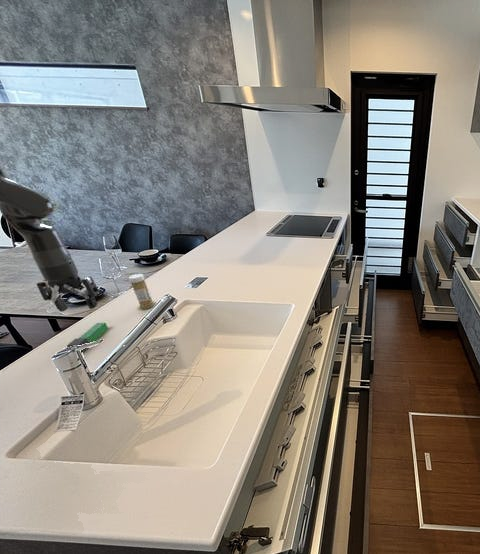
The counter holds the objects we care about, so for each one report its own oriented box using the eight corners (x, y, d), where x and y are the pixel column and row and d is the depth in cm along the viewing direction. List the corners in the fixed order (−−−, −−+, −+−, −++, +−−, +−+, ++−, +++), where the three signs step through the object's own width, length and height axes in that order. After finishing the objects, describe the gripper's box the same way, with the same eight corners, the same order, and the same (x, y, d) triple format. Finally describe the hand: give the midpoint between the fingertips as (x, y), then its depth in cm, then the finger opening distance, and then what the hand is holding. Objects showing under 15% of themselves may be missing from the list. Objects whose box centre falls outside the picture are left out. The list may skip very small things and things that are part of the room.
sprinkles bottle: (156, 303, 124) (145, 273, 118) (150, 308, 119) (138, 278, 114) (144, 303, 123) (133, 273, 118) (137, 309, 119) (125, 278, 114)
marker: (99, 329, 107) (95, 322, 106) (109, 328, 107) (105, 321, 106) (71, 353, 95) (66, 345, 94) (82, 352, 95) (78, 344, 94)
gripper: (16, 268, 86) (44, 317, 92) (71, 264, 87) (95, 313, 94) (39, 259, 92) (63, 305, 99) (90, 255, 94) (110, 301, 101)
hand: (79, 309), depth 97 cm, fingers open, 8 cm apart
